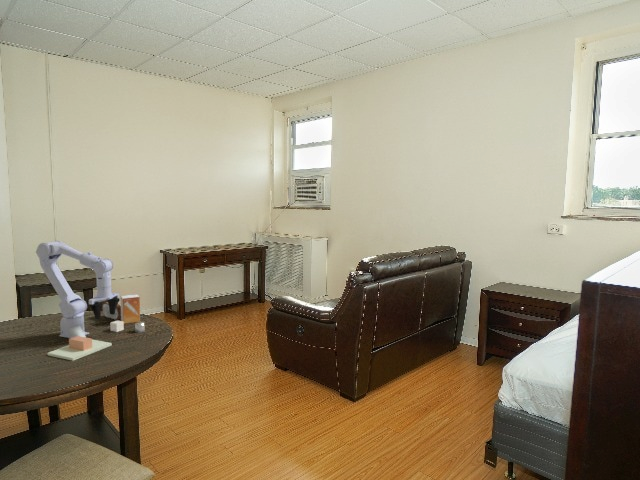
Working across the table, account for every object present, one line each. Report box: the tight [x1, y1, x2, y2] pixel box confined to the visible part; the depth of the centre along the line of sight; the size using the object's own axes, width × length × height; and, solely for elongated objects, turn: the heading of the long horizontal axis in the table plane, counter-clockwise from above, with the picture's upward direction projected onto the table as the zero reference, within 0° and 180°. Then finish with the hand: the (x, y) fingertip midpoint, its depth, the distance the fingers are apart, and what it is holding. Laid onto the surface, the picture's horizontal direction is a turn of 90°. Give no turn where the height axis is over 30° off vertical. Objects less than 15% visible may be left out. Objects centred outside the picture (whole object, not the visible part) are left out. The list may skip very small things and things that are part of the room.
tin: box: [101, 301, 121, 321], centre depth 213 cm, size 15×3×8 cm, turn 57°
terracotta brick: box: [68, 336, 93, 351], centre depth 169 cm, size 8×4×4 cm, turn 69°
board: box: [47, 339, 112, 362], centre depth 170 cm, size 14×18×1 cm
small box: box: [119, 293, 141, 325], centre depth 208 cm, size 8×6×13 cm
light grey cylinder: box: [134, 321, 146, 334], centre depth 194 cm, size 4×4×4 cm
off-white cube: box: [109, 320, 125, 333], centre depth 195 cm, size 4×4×4 cm
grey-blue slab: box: [69, 326, 87, 338], centre depth 181 cm, size 6×4×2 cm
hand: (105, 316), depth 185 cm, fingers open, 7 cm apart
